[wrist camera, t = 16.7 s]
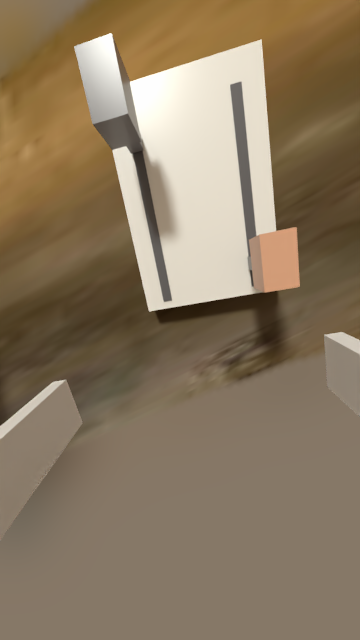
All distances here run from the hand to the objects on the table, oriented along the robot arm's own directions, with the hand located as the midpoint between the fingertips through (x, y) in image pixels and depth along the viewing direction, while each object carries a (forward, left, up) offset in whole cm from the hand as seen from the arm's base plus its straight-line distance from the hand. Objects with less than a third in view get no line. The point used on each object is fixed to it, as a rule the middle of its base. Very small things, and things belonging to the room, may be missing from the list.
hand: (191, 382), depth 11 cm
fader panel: (+2, +14, -23) cm, 26 cm away
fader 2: (+8, +5, -19) cm, 21 cm away
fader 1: (-4, +20, -19) cm, 28 cm away
